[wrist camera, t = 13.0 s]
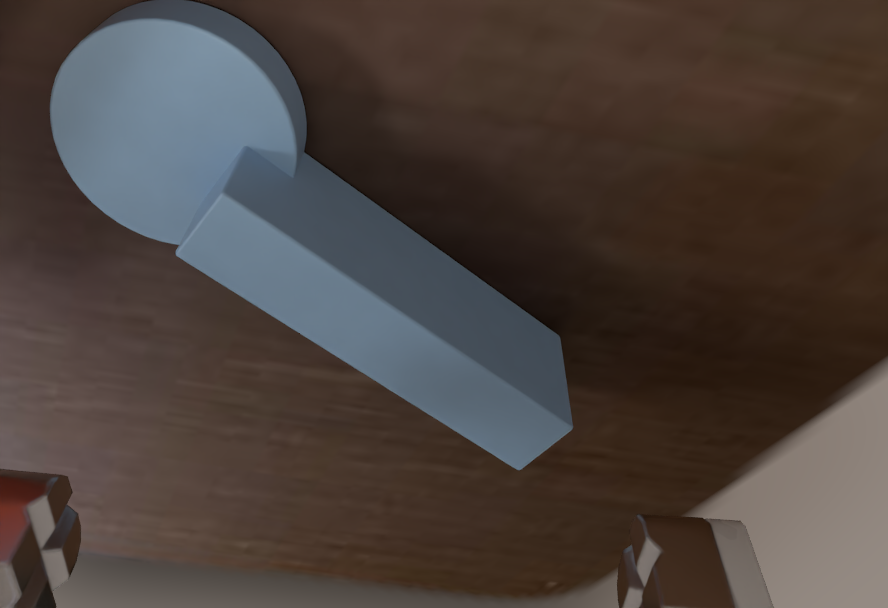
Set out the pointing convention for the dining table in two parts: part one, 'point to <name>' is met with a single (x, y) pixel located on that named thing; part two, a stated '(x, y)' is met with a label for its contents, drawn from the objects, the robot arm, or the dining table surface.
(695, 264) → the dining table surface
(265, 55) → the blue spoon
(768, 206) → the dining table surface
